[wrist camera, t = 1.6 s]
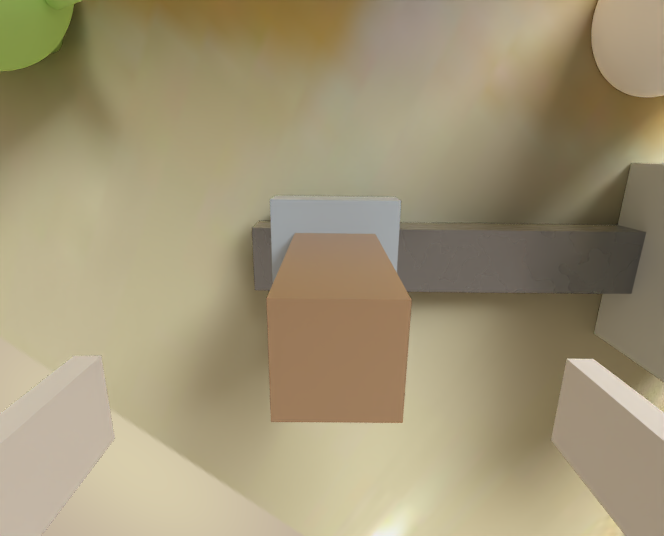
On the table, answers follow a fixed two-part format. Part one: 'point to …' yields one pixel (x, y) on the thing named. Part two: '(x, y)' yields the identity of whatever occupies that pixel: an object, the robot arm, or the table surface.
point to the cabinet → (640, 276)
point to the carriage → (336, 310)
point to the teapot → (32, 30)
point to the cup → (630, 45)
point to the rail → (500, 257)
